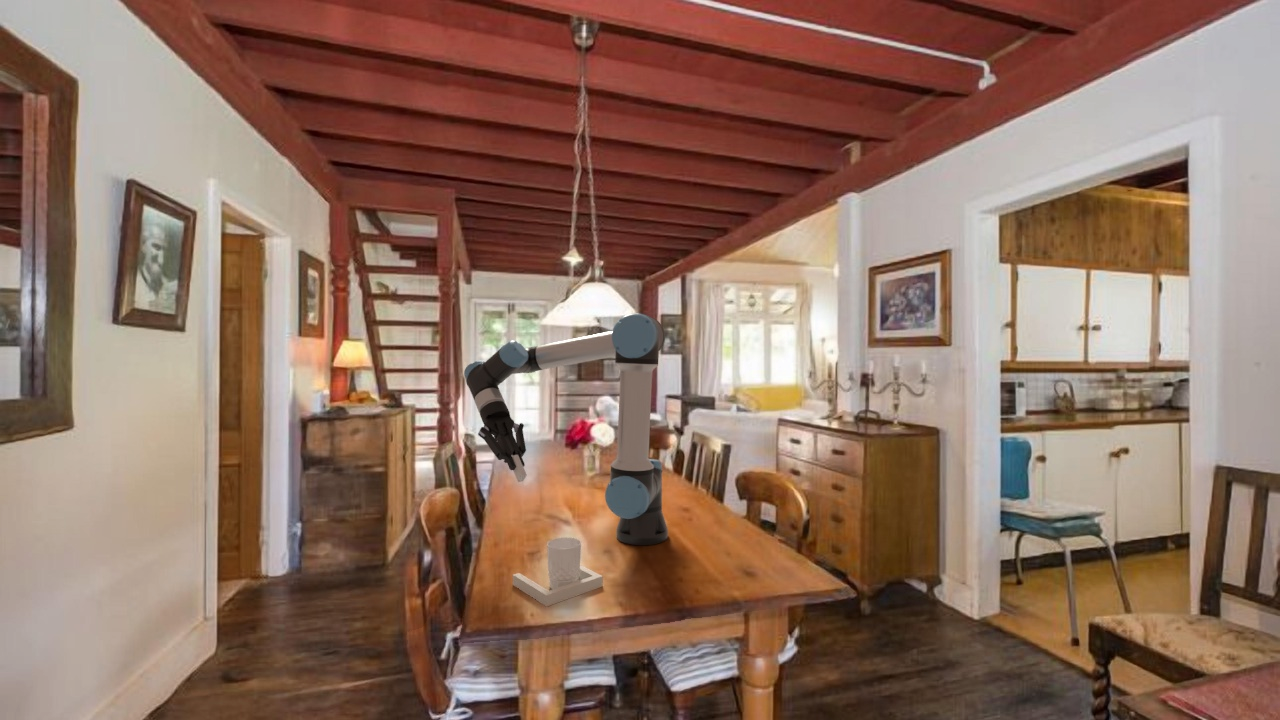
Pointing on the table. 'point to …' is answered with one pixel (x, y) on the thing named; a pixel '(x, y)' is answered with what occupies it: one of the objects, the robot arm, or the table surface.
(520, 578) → the bay
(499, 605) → the table surface
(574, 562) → the white cup
